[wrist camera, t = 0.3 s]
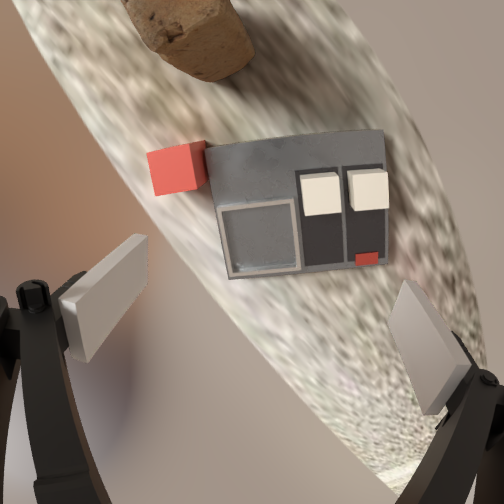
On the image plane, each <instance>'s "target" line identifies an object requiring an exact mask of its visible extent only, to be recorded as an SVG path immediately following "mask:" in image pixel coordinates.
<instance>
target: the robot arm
mask: <svg viewBox="0 0 504 504" xmlns="http://www.w3.org/2000/svg"><path fill="white" fill-rule="evenodd" d="M147 284H148V236H147V235H141V234H135V233H134V234H133V235H132V236H131V237H129V238H128V239H127V240H126V241H124V242H123V243H122V244H121V245H119V246H118V247H117V248H116V249H115V250H114V251H112V252H111V253H110V254H108V255H107V256H106V257H105V258H104V259H103V260H101V261H100V262H99V263H98V264H97V265H95V266H94V267H93V268H92V269H91V270H90V271H88V272H86V271H82V272H80V273H78V274H76V275H74V276H73V277H72V278H70V279H69V280H68V281H67V282H66V283H64V284H63V285H62V287H60V288H58V290H56V291H55V292H54V293H53V294H52V295H50V293H49V287H48V284H47V283H46V282H44V281H42V280H29V281H26V282H24V283H22V284H20V285H19V286H18V287H17V289H16V294H17V298H18V302H19V306H20V309H16V308H9V307H8V303H7V300H6V298H4V297H3V296H0V504H3V481H4V464H5V453H6V444H7V436H8V428H9V422H10V415H11V409H12V403H13V398H14V393H15V388H16V383H17V379H18V375H19V371H20V366H21V375H22V388H23V399H24V407H25V415H26V422H27V429H28V435H29V440H30V445H31V451H32V456H33V460H34V465H35V469H36V473H37V480H35V481H34V486H33V487H34V492H35V496H36V500H37V503H38V504H112V503H111V500H110V498H109V496H108V493H107V491H106V489H105V487H104V484H103V482H102V480H101V477H100V474H99V472H98V469H97V467H96V464H95V462H94V459H93V456H92V453H91V451H90V448H89V445H88V442H87V439H86V436H85V433H84V430H83V426H82V423H81V420H80V417H79V413H78V410H77V406H76V402H75V399H74V395H73V391H72V387H71V383H70V378H69V374H68V370H67V365H66V360H65V356H64V351H65V350H66V349H67V348H68V347H69V350H70V353H71V357H72V358H74V359H77V360H79V361H82V362H85V363H88V362H89V361H90V359H91V358H92V356H93V355H94V354H95V352H96V351H97V350H98V348H99V347H100V346H101V344H102V343H103V341H104V340H105V339H106V337H107V336H108V335H109V333H110V332H111V330H112V329H113V328H114V327H115V325H116V324H117V323H118V321H119V320H120V319H121V317H122V316H123V315H124V313H125V312H126V311H127V310H128V308H129V307H130V306H131V304H132V303H133V302H134V301H135V299H136V298H137V297H138V295H139V294H140V293H141V292H142V290H143V289H144V288H145V287H146V285H147ZM387 325H388V327H389V329H390V331H391V334H392V336H393V338H394V341H395V343H396V346H397V348H398V350H399V353H400V355H401V358H402V360H403V363H404V365H405V368H406V370H407V373H408V375H409V378H410V381H411V383H412V386H413V388H414V391H415V394H416V397H417V399H418V402H419V405H420V408H421V410H422V413H423V415H438V414H439V413H440V411H441V410H442V409H443V407H444V406H445V404H446V407H447V409H448V412H447V414H446V415H445V416H444V418H443V419H442V420H441V421H440V423H439V424H438V425H437V426H436V428H435V429H436V430H437V429H438V430H437V432H436V434H435V436H434V438H433V440H432V442H431V444H430V446H429V448H428V450H427V452H426V454H425V455H424V457H423V459H422V461H421V463H420V464H419V466H418V468H417V469H416V471H415V473H414V475H413V476H412V478H411V480H410V481H409V483H408V484H407V486H406V488H405V489H404V491H403V492H402V494H401V495H400V497H399V498H398V500H397V501H396V503H395V504H465V502H466V499H467V497H468V495H469V492H470V490H471V487H472V484H473V482H474V479H475V476H476V474H477V478H476V486H475V494H474V501H473V504H504V386H503V385H499V381H498V379H497V378H496V376H495V375H494V374H492V373H491V372H489V371H487V370H485V369H479V367H478V366H477V364H476V363H475V361H474V359H473V358H472V356H471V354H470V353H469V352H468V350H467V348H466V347H465V346H464V343H463V342H462V340H461V339H460V338H459V337H458V336H457V335H456V334H455V333H454V332H453V331H450V329H449V327H448V326H447V324H446V323H445V321H444V320H443V318H442V317H441V316H440V314H439V313H438V311H437V310H436V308H435V307H434V305H433V304H432V302H431V301H430V300H429V298H428V297H427V295H426V294H425V293H424V291H423V290H422V288H421V287H420V286H419V284H418V283H417V281H412V280H406V279H404V281H403V284H402V286H401V289H400V292H399V294H398V297H397V300H396V302H395V305H394V307H393V310H392V312H391V315H390V317H389V320H388V322H387Z"/></svg>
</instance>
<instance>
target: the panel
mask: <svg viewBox="0 0 504 504" xmlns="http://www.w3.org/2000/svg"><path fill="white" fill-rule="evenodd" d="M204 152H205V158H206V163H207V169H208V174H209V180H210V185H211V191H212V196H213V202H214V207H215V212H216V218H217V223H218V228H219V233H220V239H221V244H222V249H223V254H224V259H225V264H226V269H227V274H228V279H229V280H233V279H245V278H256V277H267V276H277V275H288V274H298V273H308V272H318V271H328V270H337V269H346V268H356V267H365V266H373V265H382V264H388V208H385V209H373V210H362V211H354V209H353V208H352V207H351V205H350V203H349V189H348V176H347V171H350V170H363V169H378V168H380V169H382V170H384V171H386V172H387V169H386V154H385V142H384V132H383V130H380V129H369V130H350V131H335V132H322V133H311V134H301V135H291V136H283V137H274V138H266V139H259V140H252V141H245V142H238V143H232V144H226V145H220V146H214V147H209V148H206V149H204ZM326 172H335V173H336V174H337V175H338V176H339V185H340V198H341V212H340V213H330V214H320V215H310V216H305V213H304V209H303V199H302V191H301V182H300V175H306V174H316V173H326Z"/></svg>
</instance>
